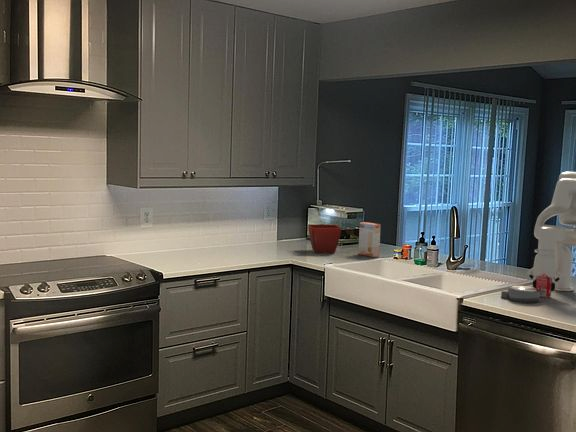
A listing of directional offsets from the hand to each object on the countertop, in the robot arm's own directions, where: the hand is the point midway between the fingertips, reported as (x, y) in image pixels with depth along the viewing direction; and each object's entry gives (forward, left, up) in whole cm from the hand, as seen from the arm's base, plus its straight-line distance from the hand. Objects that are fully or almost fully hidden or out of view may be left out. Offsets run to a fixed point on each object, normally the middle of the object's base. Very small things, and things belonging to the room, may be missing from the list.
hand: (543, 289), depth 303 cm
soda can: (0, 0, -3) cm, 3 cm away
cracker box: (-58, -111, -4) cm, 125 cm away
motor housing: (+14, -8, -3) cm, 17 cm away
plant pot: (-54, -141, -4) cm, 151 cm away
